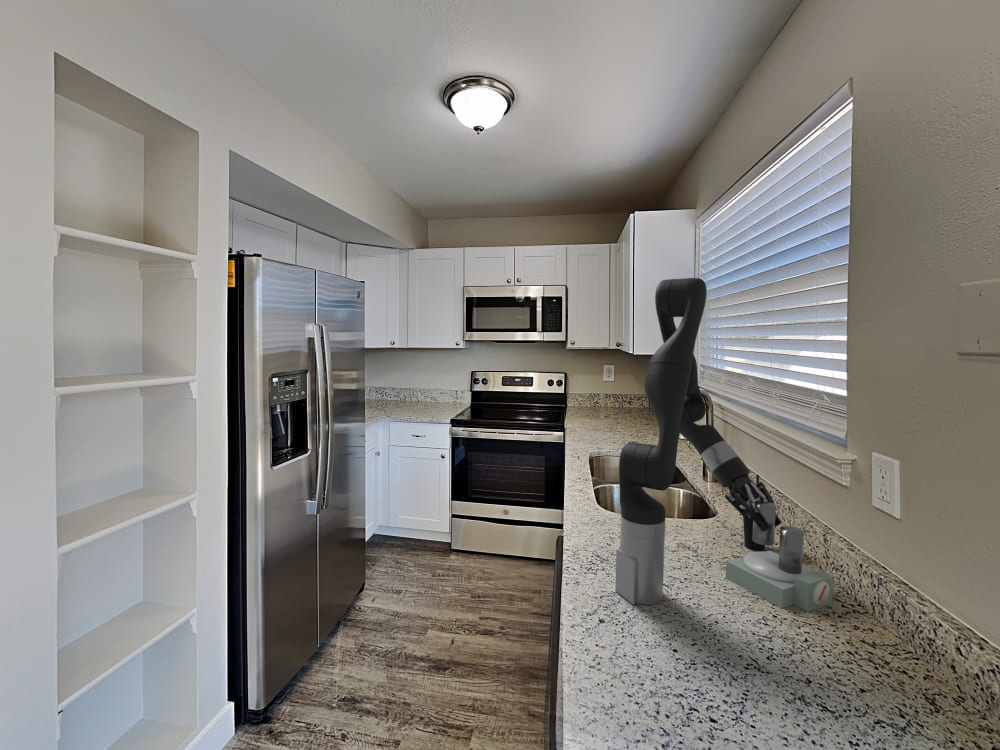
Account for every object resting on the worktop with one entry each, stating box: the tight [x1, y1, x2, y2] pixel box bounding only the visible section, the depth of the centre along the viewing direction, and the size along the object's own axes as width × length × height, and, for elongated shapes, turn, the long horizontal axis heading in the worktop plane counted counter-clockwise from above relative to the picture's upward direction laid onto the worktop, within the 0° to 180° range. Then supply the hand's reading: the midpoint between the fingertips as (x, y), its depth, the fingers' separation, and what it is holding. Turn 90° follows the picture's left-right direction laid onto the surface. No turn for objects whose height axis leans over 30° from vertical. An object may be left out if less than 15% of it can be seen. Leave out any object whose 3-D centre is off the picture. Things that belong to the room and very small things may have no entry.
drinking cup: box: [742, 474, 768, 552], centre depth 126 cm, size 8×8×20 cm
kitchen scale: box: [725, 549, 834, 613], centre depth 105 cm, size 15×18×6 cm
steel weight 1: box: [752, 501, 777, 547], centre depth 108 cm, size 4×4×9 cm
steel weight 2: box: [778, 525, 805, 574], centre depth 104 cm, size 4×4×9 cm
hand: (772, 527), depth 107 cm, fingers closed on steel weight 1, 4 cm apart
